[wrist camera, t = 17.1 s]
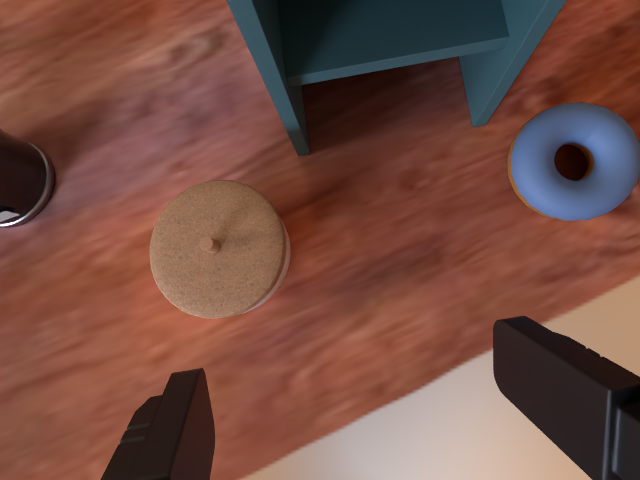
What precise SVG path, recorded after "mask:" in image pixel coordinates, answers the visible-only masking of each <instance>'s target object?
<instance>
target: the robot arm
mask: <svg viewBox="0 0 640 480" xmlns="http://www.w3.org/2000/svg"><path fill="white" fill-rule="evenodd" d="M53 186H54V169H53V165H52V162H51V160H50V158H49V157H48V155H47V154H46V153H45V152H44V151H43V150H42V149H41V148H39V147H37V146H35V145H33V144H31V143H29V142H27V141H24V140H21V139H19V138H17V137H15V136H13V135H11V134H8V133H6V132H5V131H3V130H1V129H0V227H5V228H9V227H16V226H19V225H22V224H24V223H26V222H28V221H30V220H31V219H33V218H34V217H35V216H36V215H38V214H39V213H40V212H41V210H42V209H43V208H44V207H45V205H46V204H47V202H48V200H49V198H50V196H51V193H52V190H53ZM493 367H494V369H493V370H494V377H495V381H496V383H497V386H498V388H499V389H500V391H501V392H502V394H503V395H504V396H505V397H506V398H507V399H508V400H510V402H511V403H513V404H514V405H515V406H516V407H517V408H518V409H519V410H520V411H521V412H522V413H523V414H524V415H525V416H526V417H527V418H528V419H529V420H530V421H531V422H533V423H534V424H535V425H536V426H537V427H538V428H539V429H540V430H541V431H542V432H543V433H544V434H545V435H546V436H547V437H548V438H549V439H550V440H552V442H553V443H554V444H556V445H557V446H558V447H559V448H560V449H561V450H562V451H563V452H564V453H565V454H566V455H567V456H568V457H569V458H570V459H571V460H572V461H573V462H574V463H575V464H577V465H578V466H579V467H580V468H581V469H582V470H583V471H584V472H585V473H586V474H587V475H588V476H589V477H590V478H591V479H592V480H640V377H639V376H637V375H635V374H633V373H632V372H630V371H628V370H626V369H625V368H623V367H621V366H619V365H617V364H616V363H614V362H612V361H610V360H609V359H607V358H605V357H600V355H599V354H598V353H596V352H594V351H593V350H591V349H589V348H588V349H586V347H585V346H584V345H582V344H580V343H578V342H577V341H575V340H573V339H571V338H570V337H567V336H564V335H561V334H558V333H555V332H552V331H551V330H549V329H547V328H545V327H544V326H542V325H540V324H538V323H537V322H535V321H533V320H531V319H530V318H528V317H526V316H519V317H513V318H507V319H501V320H497V321H496V322H495V324H494V327H493ZM214 448H215V428H214V420H213V414H212V409H211V403H210V397H209V392H208V386H207V381H206V375H205V372H204V370H203V368H200V369H194V370H188V371H182V372H176V373H172V374H171V376H170V378H169V381H168V383H167V385H166V388H165V390H164V392H163V395H160V396H154V397H150V398H149V399H148V400H147V401H146V402H145V403H144V404H143V405H142V406H141V407H140V408H139V409H138V410H137V411H135V413H134V415H133V417H132V419H131V421H130V423H129V425H128V427H127V431H125V433H124V435H123V437H122V439H121V441H120V445H118V447H117V449H116V450H115V452H114V454H113V456H112V458H111V460H110V462H109V464H108V466H107V468H106V470H105V472H104V474H103V476H102V478H101V480H209V479H210V473H211V467H212V461H213V455H214Z"/></svg>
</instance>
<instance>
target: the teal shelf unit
mask: <svg viewBox="0 0 640 480" xmlns="http://www.w3.org/2000/svg"><path fill="white" fill-rule="evenodd" d="M566 1H567V0H227V3H228V5H229V7H230V9H231V11H232V13H233V16H234V18H235V20H236V22H237V24H238V26H239V29H240V31H241V33H242V35H243V37H244V40H245V42H246V44H247V46H248V48H249V50H250V53H251V55H252V57H253V59H254V61H255V63H256V66H257V68H258V70H259V72H260V74H261V76H262V79H263V81H264V83H265V85H266V87H267V89H268V92H269V94H270V96H271V98H272V100H273V103H274V105H275V107H276V109H277V111H278V113H279V116H280V118H281V120H282V122H283V124H284V126H285V129H286V131H287V133H288V135H289V137H290V139H291V142H292V144H293V146H294V148H295V150H296V153H297V155H298V156H302V155H308V154H310V150H309V142H308V134H307V126H306V118H305V110H304V102H303V94H302V86H301V85H304V84H309V83H315V82H320V81H326V80H331V79H337V78H342V77H348V76H353V75H359V74H364V73H370V72H375V71H381V70H386V69H392V68H397V67H403V66H408V65H414V64H419V63H425V62H430V61H435V60H441V59H446V58H452V57H457V56H458V58H459V63H460V68H461V73H462V77H463V82H464V87H465V92H466V96H467V101H468V106H469V111H470V116H471V120H472V125H473V127H477V126H483V125H486V124H487V122H488V121H489V119H490V118H491V116H492V114H493V113H494V111H495V110H496V108H497V107H498V105H499V104H500V102H501V101H502V99H503V98H504V96H505V94H506V93H507V91H508V90H509V88H510V87H511V85H512V84H513V82H514V81H515V79H516V78H517V76H518V74H519V73H520V71H521V70H522V68H523V67H524V65H525V64H526V62H527V61H528V59H529V58H530V56H531V54H532V53H533V51H534V50H535V48H536V47H537V45H538V44H539V42H540V41H541V39H542V38H543V36H544V34H545V33H546V31H547V30H548V28H549V27H550V25H551V24H552V22H553V21H554V19H555V18H556V16H557V14H558V13H559V11H560V10H561V8H562V7H563V5H564V4H565V2H566Z"/></svg>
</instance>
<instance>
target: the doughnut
mask: <svg viewBox="0 0 640 480" xmlns="http://www.w3.org/2000/svg"><path fill="white" fill-rule="evenodd" d="M562 145H572V146H575V147H577V148H579V149H580V150H581V151H582V152H583V153H584V154H585V157H586V159H587V164H588V168H587V171H586V173H585V175H584V176H583V178H581V179H580V180H577V181H572V180H568V179H566V178H565V177H563V176H561V174H560V173H559V172H558V171H557V169H556V167H555V162H554V157H555V154H556V151H557V150H558V148H559V147H561V146H562ZM507 167H508V177H509V180H510V182H511V185H512V187H513V189H514V192H515V193H516V194H517V196H518V197H519V198H520V199H521V200H522V201H523V203H524V204H525V205H526V206H527V207H529V208H531V209H532V210H534V211H536V212H537V213H539V214H540V215H542V216H546V217H550V218H553V219H557V220H562V221H571V220H589V219H591V218H594V217H597V216H600V215H603V214H606V213H608V212H610V211H611V210H613V209H614V208H615V207H617V206H618V205H619V204H621V203H622V202H623V201H625V200H626V198H627V197H628V196H629V194H630V193H631V191H632V190H633V188H634V187H635V186H636V184H637V182H638V178H639V174H640V143H639V141H638V139H637V137H636V134H635V132H634V130H633V129H632V128H631V127H630V126H629V124H628V123H627V122H626V121H625V120H624V119H623V118H622V117H621V116H620V115H618V114H616V113H614V112H612V111H611V110H609V109H607V108H605V107H603V106H598V105H593V104H589V103H584V102H579V103H565V104H561V105H558V106H555V107H553V108H550V109H547V110H545V111H543V112H541V113H539V114H537V115H536V116H535V117H533V118H532V119H531V120H529V121H528V122H527V123H526V124H524V125H523V126H522V128H521V129H520V131H519V132H518V134H517V135H516V137H515V138H514V140H513V141H512V143H511V147H510V150H509V154H508V157H507Z"/></svg>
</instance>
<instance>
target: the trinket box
mask: <svg viewBox="0 0 640 480" xmlns="http://www.w3.org/2000/svg"><path fill="white" fill-rule="evenodd" d="M290 254H291V253H290V241H289V237H288V233H287V231H286V228H285V225H284V223H283V222H282V220H281V218H280V216H279V215H278V213H277V211H276V210H275V208H274V207H273V206H272V205H271V203H270V202H269V201H268V200H267V199H266V198H265V197H264V196H263V195H262V194H260V193H259V192H258V191H256V190H255V189H253V188H251V187H250V186H247V185H245V184H242V183H239V182H235V181H231V180H214V181H208V182H204V183H200V184H197V185H195V186H193V187H190V188H189V189H187V190H185V191H184V192H182V193H181V194H179V195H178V196H177V197H176V198H175V199H173V200H172V201H171V203H170V204H169V205H168V206H167V207H166V208H165V210H164V211H163V213H162V214H161V215H160V217H159V219H158V221H157V223H156V225H155V228H154V231H153V234H152V238H151V244H150V263H151V269H152V273H153V276H154V279H155V281H156V283H157V285H158V287H159V289H160V290H161V292H162V293H163V295H164V296H165V297H166V298H167V299H168V300H169V301H170V302H171V303H172V304H173V305H174V306H176V307H177V308H179V309H180V310H182V311H184V312H186V313H188V314H190V315H194V316H197V317H201V318H210V319H214V318H226V317H231V316H235V315H238V314H241V313H245V312H247V311H250V310H252V309H254V308H256V307H258V306H260V305H261V304H263V303H265V302H266V301H267V300H268V299H269V298H271V297H272V296H273V294H274V293H275V292H276V291H277V290H278V288H279V287H280V285H281V284H282V282H283V280H284V278H285V276H286V274H287V271H288V267H289V263H290Z"/></svg>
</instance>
